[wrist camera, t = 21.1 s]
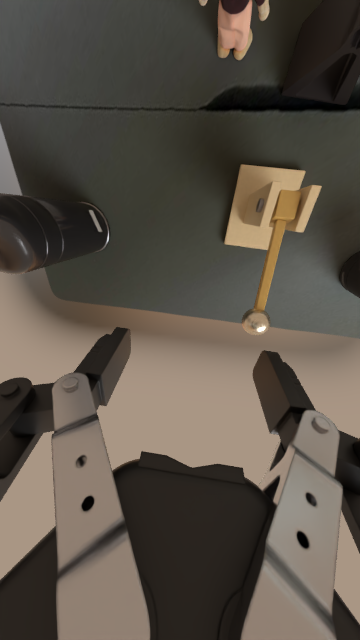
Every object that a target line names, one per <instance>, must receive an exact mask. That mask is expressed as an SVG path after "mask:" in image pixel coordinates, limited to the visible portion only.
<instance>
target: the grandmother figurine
mask: <svg viewBox="0 0 360 640" xmlns="http://www.w3.org/2000/svg"><path fill="white" fill-rule="evenodd" d="M255 1H256V3H257V6H258V11H259V18H260V20H261V21H264V20H265V19H266V18H267V16H268V14H269V4H268V1H269V0H255ZM199 3H200V5H202V6H204V5H205V4H206V3H207V0H199ZM251 11H252V0H219V8H218V56H219V57H220V58H226V57H227V56H228V54H229V51H230V48H234V52H233V54H234V57H235V59H237V60H241V59H242V58H243V57H244V55H245V54H246V52H247V50H248V48H249V46H250V44H251V42H252V31H251V29H250V20H251Z"/></svg>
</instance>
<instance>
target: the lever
mask: <svg viewBox="0 0 360 640" xmlns="http://www.w3.org/2000/svg"><path fill="white" fill-rule="evenodd" d="M300 196H301V192H300V191H291V190H281V191H280V192H279V194H278V197H277V201H276V204H275V207H274V210H273V214H272V217H271V220H270V223H273V224H274V225H273V230H272V234H271V238H270V242H269V246H268V251H267V255H266V259H265V263H264V267H263V272H262V276H261V280H260V284H259V288H258V293H257V297H256V301H255V305H254V309H250V310H248V311H247V312H246V313H245V314H244V315H243V317H242V326H243V328H244V329H245V330H246V332H248V333H250V334H253V335H260V334H263V333H265V332H266V331H267V330H268V329H269V327H270V323H271V321H270V317H269V315H268V313H267V312H265V311H264V308H265V304H266V300H267V296H268V292H269V289H270V285H271V281H272V277H273V273H274V269H275V265H276V261H277V257H278V253H279V249H280V245H281V241H282V237H283V233H284V229H285V225H286V224H288V223H289V222H290V221H292V220H293V219H295V215H296V211H297V207H298V203H299V200H300Z"/></svg>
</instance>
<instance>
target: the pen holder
mask: <svg viewBox="0 0 360 640" xmlns="http://www.w3.org/2000/svg"><path fill="white" fill-rule="evenodd" d="M340 281H341V284H342V286H343V287H344V288H345V289H346V290H348V291H349V292H351V293H353V294H354V295H356V296H357V297H359V298H360V252H358V253H356V254H355V255H353V256H352V257H351V258H350V259H349V260H348V261H347V262H346V263H345V265H344V266H343V268H342V271H341V274H340Z"/></svg>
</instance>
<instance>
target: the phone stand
mask: <svg viewBox="0 0 360 640" xmlns="http://www.w3.org/2000/svg"><path fill="white" fill-rule="evenodd" d="M359 75H360V0H324V1H323V2H322V3H321V4H320V5H319V6H318V7H317V8H316V9H315V10H314V11H313V13H312V14H311V15H310V16H309V17H308V18H307V19H306V20H305V21H304V22H303V24H302V27H301V30H300V34H299V37H298V40H297V44H296V47H295V50H294V54H293V57H292V60H291V64H290V67H289V70H288V74H287V77H286V80H285V84H284V87H283V90H282V95H283V96H290V97H296V98H303V99H309V100H312V99H314V100H315V101H322V102H328V103H335V104H341V105H345V104H347V102H348V100H349V98H350V95H351V93H352V91H353V89H354V86H355V84H356V82H357V80H358V77H359Z"/></svg>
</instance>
